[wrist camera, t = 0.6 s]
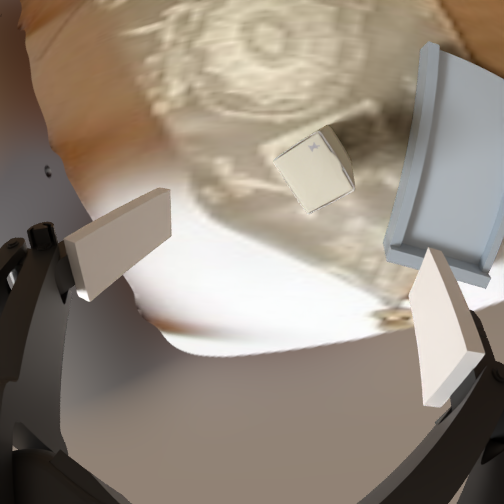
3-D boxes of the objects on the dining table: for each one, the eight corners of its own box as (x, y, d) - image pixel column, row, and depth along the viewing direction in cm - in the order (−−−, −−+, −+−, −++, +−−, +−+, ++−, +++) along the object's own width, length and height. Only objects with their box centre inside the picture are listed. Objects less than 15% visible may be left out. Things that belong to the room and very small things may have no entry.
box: (297, 142, 31) (267, 157, 20) (329, 123, 29) (317, 125, 18) (322, 181, 32) (306, 217, 21) (354, 163, 30) (357, 190, 19)
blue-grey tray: (420, 49, 21) (431, 38, 17) (517, 93, 18) (538, 93, 14) (383, 242, 33) (386, 261, 28) (473, 268, 29) (485, 288, 25)
